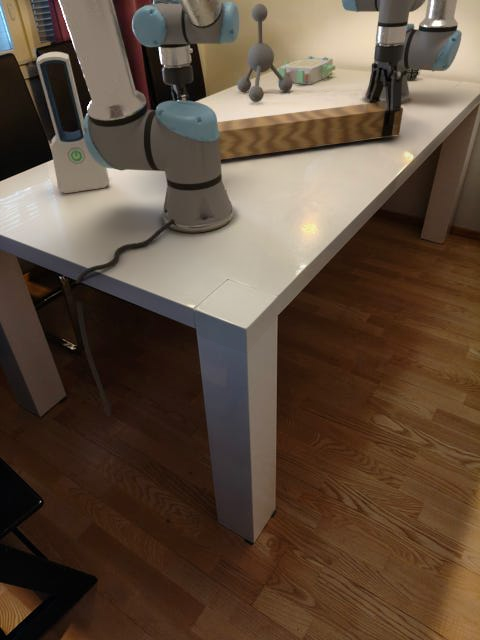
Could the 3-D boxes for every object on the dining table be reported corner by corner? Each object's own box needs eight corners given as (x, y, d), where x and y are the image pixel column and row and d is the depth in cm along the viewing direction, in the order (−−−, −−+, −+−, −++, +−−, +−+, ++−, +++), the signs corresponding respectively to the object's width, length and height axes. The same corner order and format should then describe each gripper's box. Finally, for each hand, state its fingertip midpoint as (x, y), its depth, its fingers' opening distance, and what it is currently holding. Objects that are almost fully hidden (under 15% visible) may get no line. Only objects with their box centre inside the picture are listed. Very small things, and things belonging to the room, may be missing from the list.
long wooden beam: (174, 165, 130) (170, 137, 125) (170, 155, 137) (166, 128, 132) (399, 135, 141) (403, 108, 136) (385, 126, 147) (388, 100, 143)
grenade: (402, 81, 196) (406, 53, 190) (402, 77, 200) (406, 50, 194) (419, 81, 194) (424, 53, 188) (419, 78, 199) (423, 50, 193)
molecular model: (306, 97, 183) (309, 2, 165) (252, 105, 177) (249, 8, 159) (279, 85, 201) (279, -2, 182) (229, 92, 195) (224, 3, 177)
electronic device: (59, 194, 121) (20, 60, 103) (60, 183, 127) (23, 54, 108) (110, 187, 123) (80, 54, 105) (108, 176, 129) (80, 48, 111)
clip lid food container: (301, 54, 217) (341, 57, 207) (300, 70, 221) (340, 74, 211) (269, 65, 201) (312, 69, 191) (269, 82, 205) (311, 87, 195)
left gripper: (199, 71, 112) (207, 167, 126) (185, 57, 129) (194, 143, 143) (166, 74, 111) (179, 171, 125) (157, 59, 128) (168, 146, 141)
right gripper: (424, 48, 121) (409, 140, 135) (384, 36, 138) (374, 119, 152) (396, 51, 120) (384, 144, 134) (359, 39, 137) (352, 122, 151)
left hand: (187, 156), depth 134 cm, fingers closed on long wooden beam, 9 cm apart
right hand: (379, 130), depth 143 cm, fingers closed on long wooden beam, 9 cm apart
